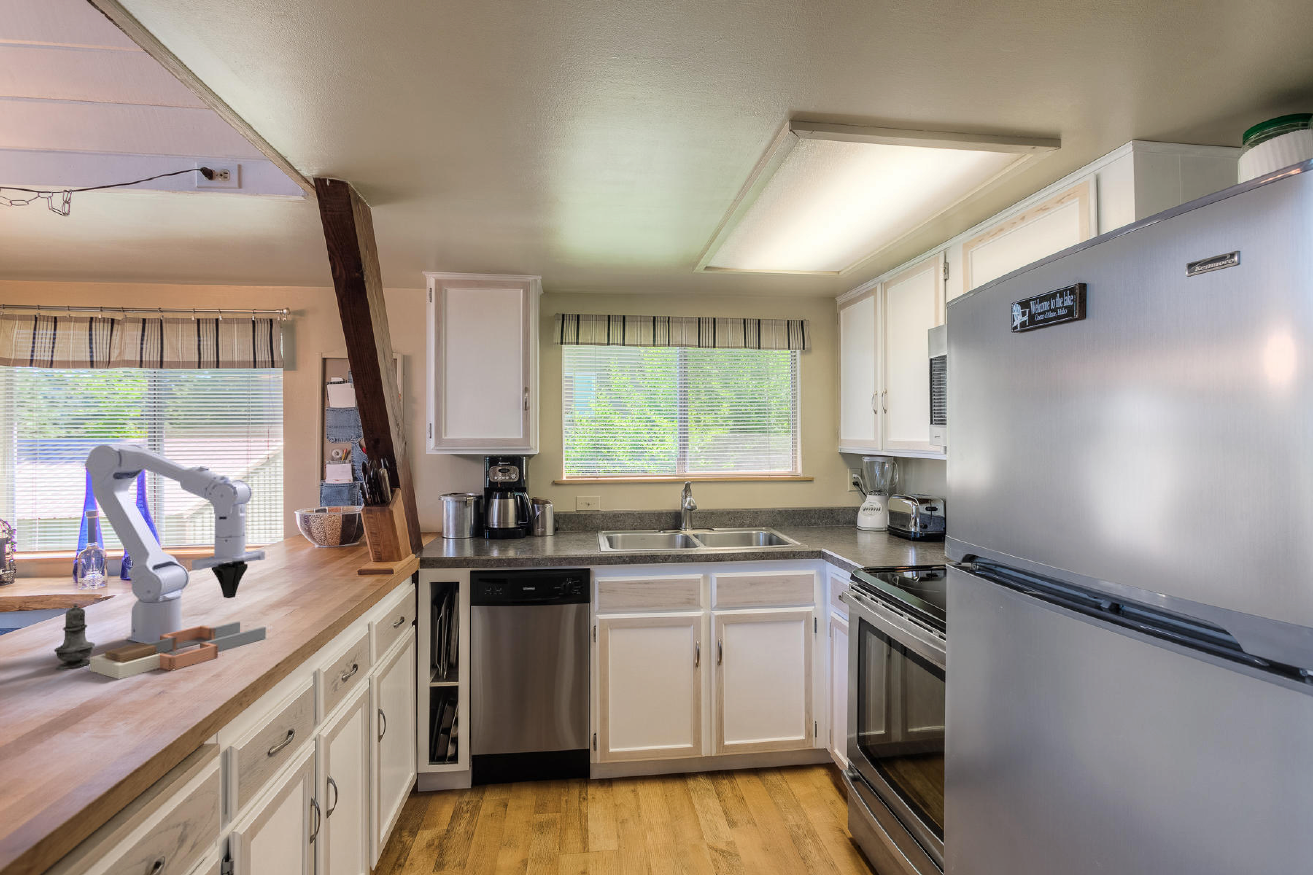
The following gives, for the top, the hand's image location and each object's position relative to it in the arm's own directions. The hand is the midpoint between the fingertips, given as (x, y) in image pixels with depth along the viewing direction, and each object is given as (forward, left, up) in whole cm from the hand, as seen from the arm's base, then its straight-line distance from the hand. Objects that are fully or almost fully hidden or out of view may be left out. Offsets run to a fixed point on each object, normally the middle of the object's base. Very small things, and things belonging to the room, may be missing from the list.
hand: (229, 597), depth 143 cm
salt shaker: (-9, -24, -9) cm, 27 cm away
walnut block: (+2, -20, -9) cm, 22 cm away
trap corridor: (+2, -10, -9) cm, 14 cm away
